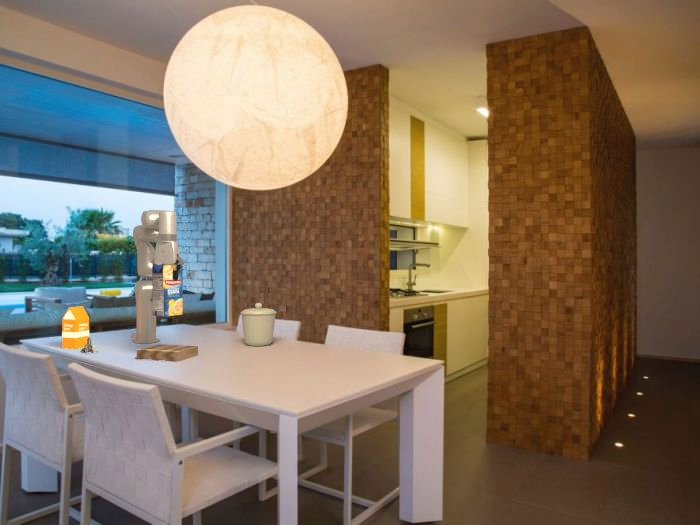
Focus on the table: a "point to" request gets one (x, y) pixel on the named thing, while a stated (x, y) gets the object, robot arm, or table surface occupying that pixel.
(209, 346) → the table surface
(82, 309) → the orange juice
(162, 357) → the tan flat block
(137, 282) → the robot arm
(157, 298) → the beverage box
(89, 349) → the house of cards
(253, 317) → the canister
